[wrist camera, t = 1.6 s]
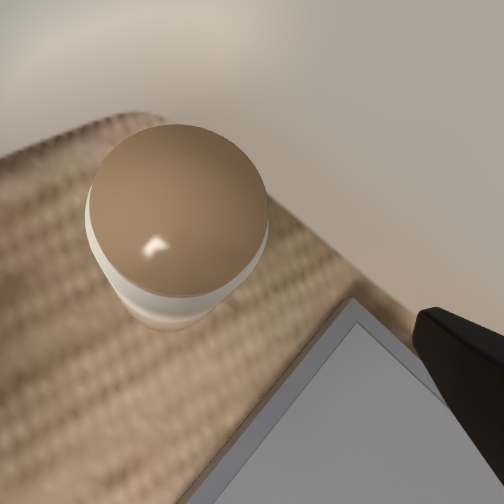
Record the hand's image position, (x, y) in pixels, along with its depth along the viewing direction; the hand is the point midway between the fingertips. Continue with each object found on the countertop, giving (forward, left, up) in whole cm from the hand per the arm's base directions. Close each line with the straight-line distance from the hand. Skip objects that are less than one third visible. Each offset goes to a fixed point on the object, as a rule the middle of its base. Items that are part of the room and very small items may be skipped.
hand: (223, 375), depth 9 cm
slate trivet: (-9, -1, -11) cm, 14 cm away
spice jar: (+3, -2, -11) cm, 12 cm away
